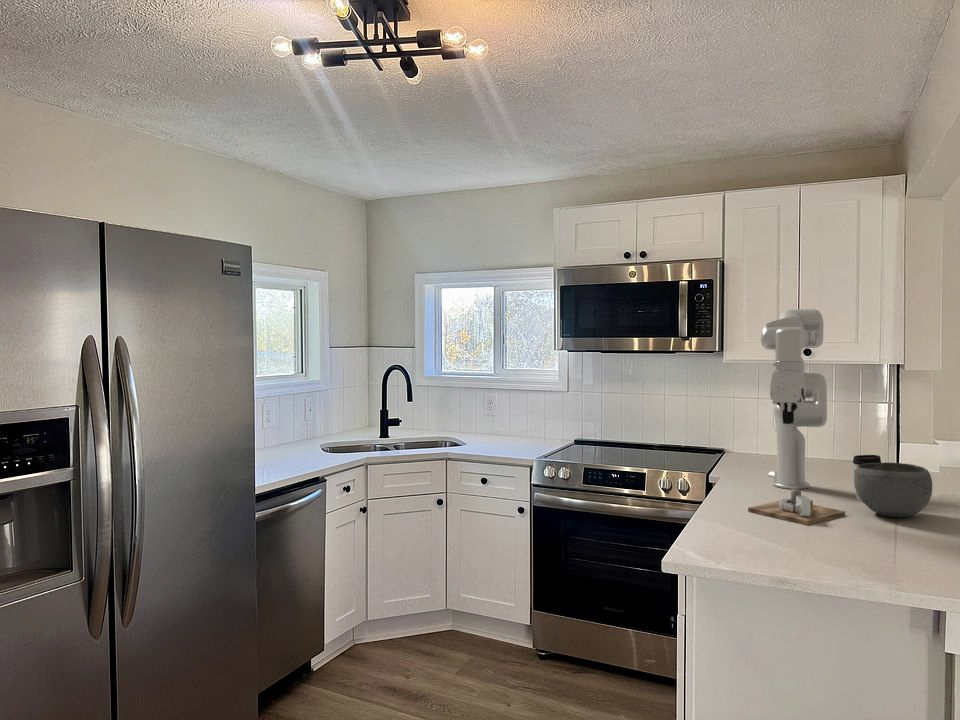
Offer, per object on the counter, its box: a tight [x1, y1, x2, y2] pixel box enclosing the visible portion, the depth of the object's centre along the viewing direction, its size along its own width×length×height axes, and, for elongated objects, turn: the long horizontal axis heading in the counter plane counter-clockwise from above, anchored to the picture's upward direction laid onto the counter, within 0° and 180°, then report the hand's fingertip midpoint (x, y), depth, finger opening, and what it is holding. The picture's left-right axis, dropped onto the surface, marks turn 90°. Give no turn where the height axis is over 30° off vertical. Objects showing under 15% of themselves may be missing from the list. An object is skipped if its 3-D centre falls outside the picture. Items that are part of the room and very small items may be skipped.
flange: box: [778, 495, 811, 516], centre depth 218 cm, size 9×14×5 cm, turn 173°
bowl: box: [853, 462, 933, 518], centre depth 217 cm, size 21×21×15 cm
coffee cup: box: [852, 454, 882, 502], centre depth 237 cm, size 8×8×15 cm
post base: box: [747, 489, 846, 526], centre depth 221 cm, size 20×20×7 cm
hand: (788, 423), depth 228 cm, fingers closed
